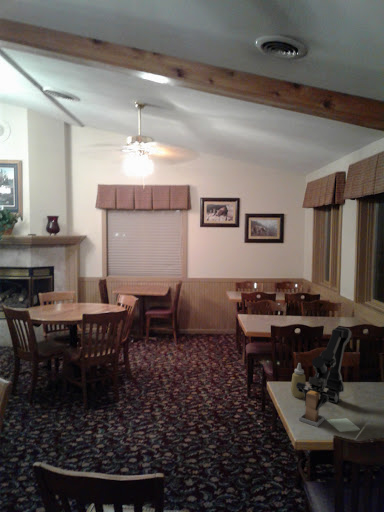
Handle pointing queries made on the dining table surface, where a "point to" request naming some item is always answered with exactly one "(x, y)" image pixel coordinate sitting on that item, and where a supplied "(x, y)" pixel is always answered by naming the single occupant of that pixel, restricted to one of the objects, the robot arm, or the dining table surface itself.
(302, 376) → the squeeze bottle
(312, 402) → the walnut box
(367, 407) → the dining table surface
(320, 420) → the grey square tray
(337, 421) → the sage pad
